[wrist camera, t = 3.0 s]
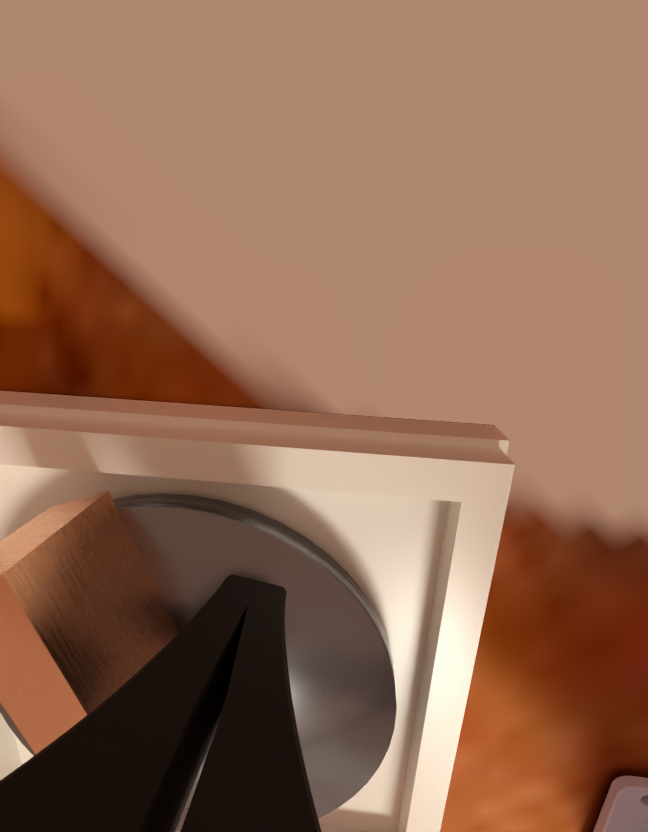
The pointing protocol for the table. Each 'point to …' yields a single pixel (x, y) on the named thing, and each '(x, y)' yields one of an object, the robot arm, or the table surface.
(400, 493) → the dial plate
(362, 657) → the dial
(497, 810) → the table surface
